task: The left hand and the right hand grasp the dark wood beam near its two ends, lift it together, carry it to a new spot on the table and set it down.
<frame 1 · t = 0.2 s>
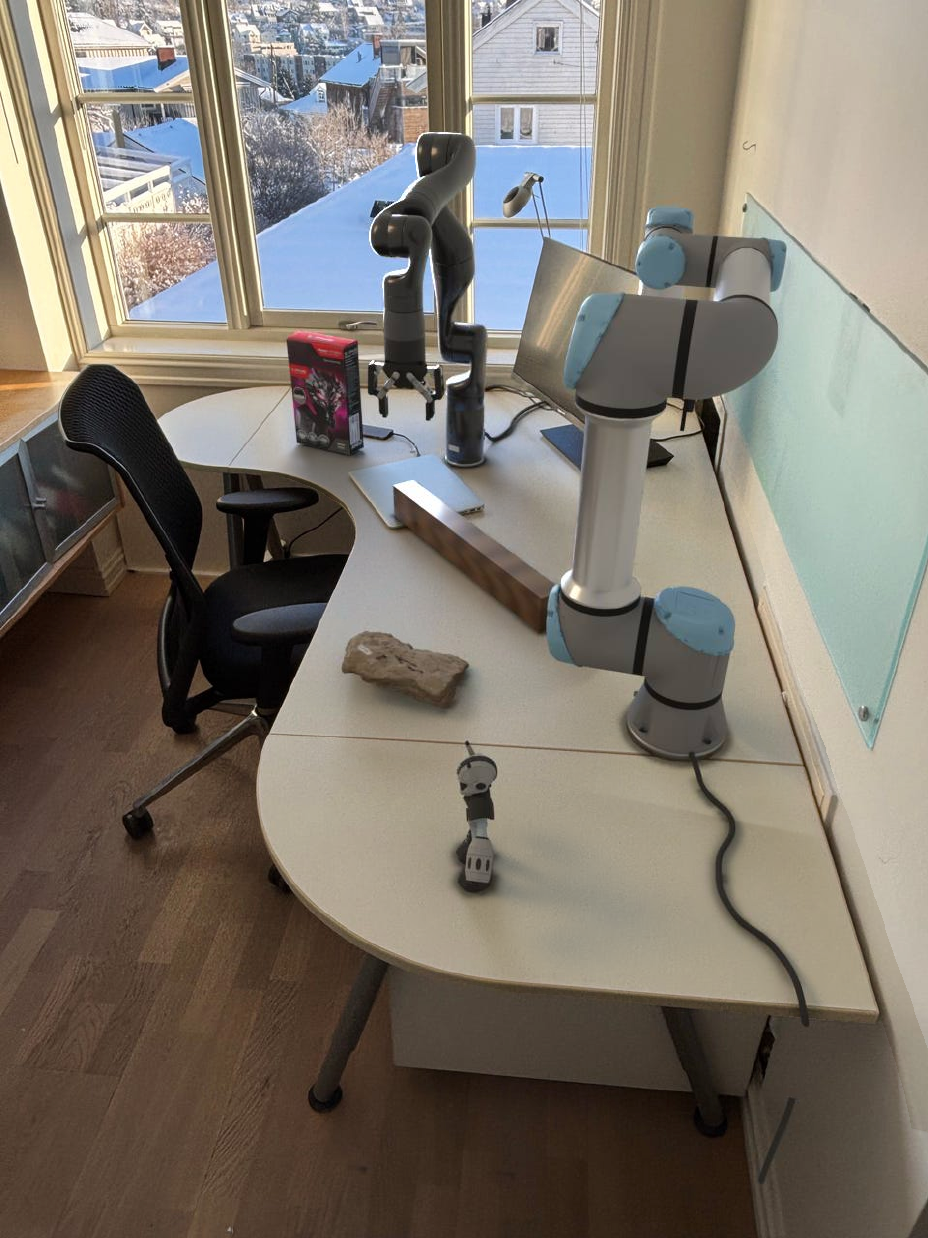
left hand: (406, 417, 176), 28 cm above the table, tool pointing down, fingers open, 8 cm apart
right hand: (644, 424, 169), 30 cm above the table, tool pointing down, fingers open, 13 cm apart
graphics card box: (330, 446, 233), on the table
stone: (400, 681, 153), on the table
beam: (469, 565, 185), on the table
robot: (474, 867, 120), on the table
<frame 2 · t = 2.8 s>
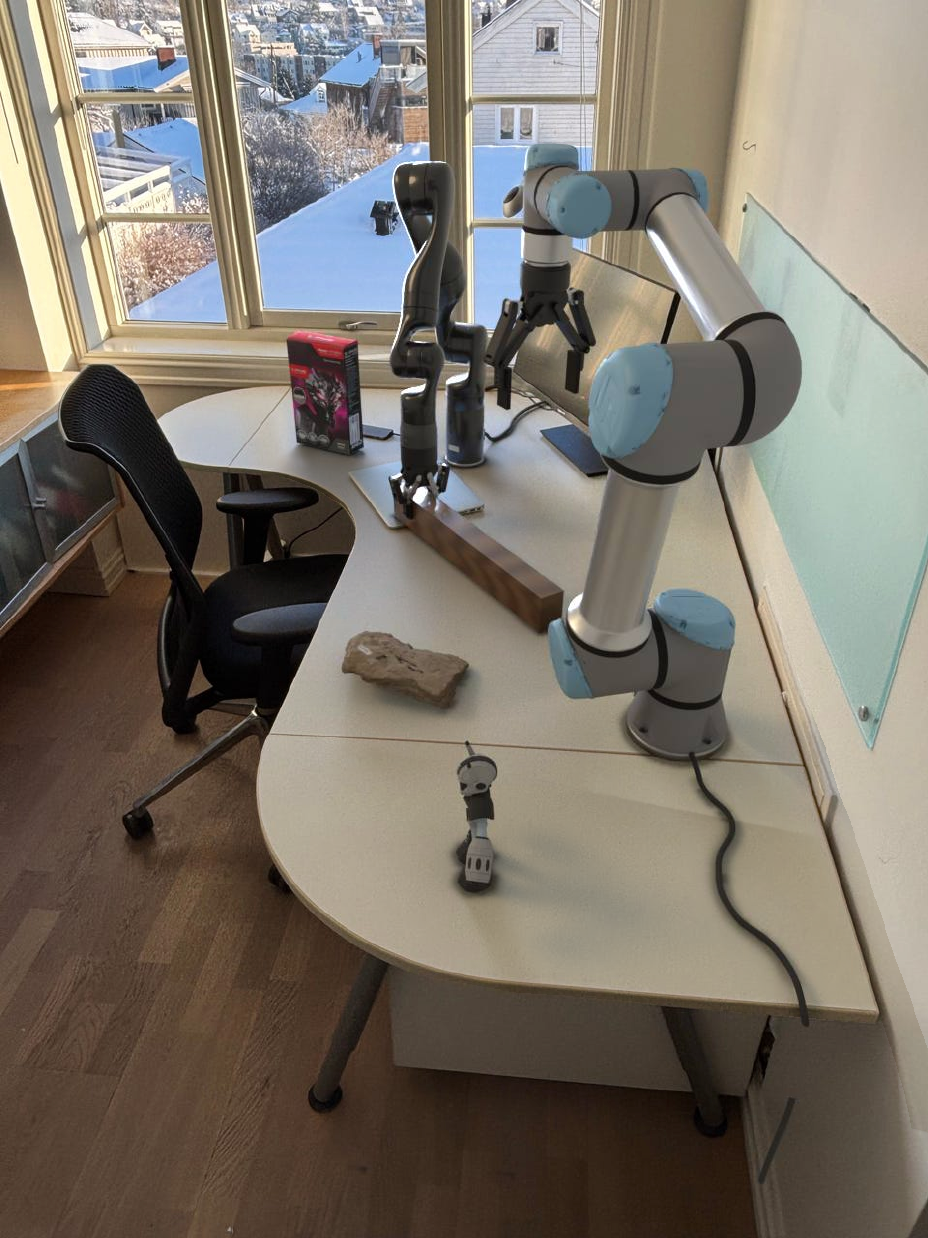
left hand: (420, 514, 196), 3 cm above the table, tool pointing down, fingers closed on beam, 5 cm apart
right hand: (538, 399, 148), 41 cm above the table, tool pointing down, fingers open, 13 cm apart
beam: (469, 565, 185), on the table, touching left hand
everything else where it was.
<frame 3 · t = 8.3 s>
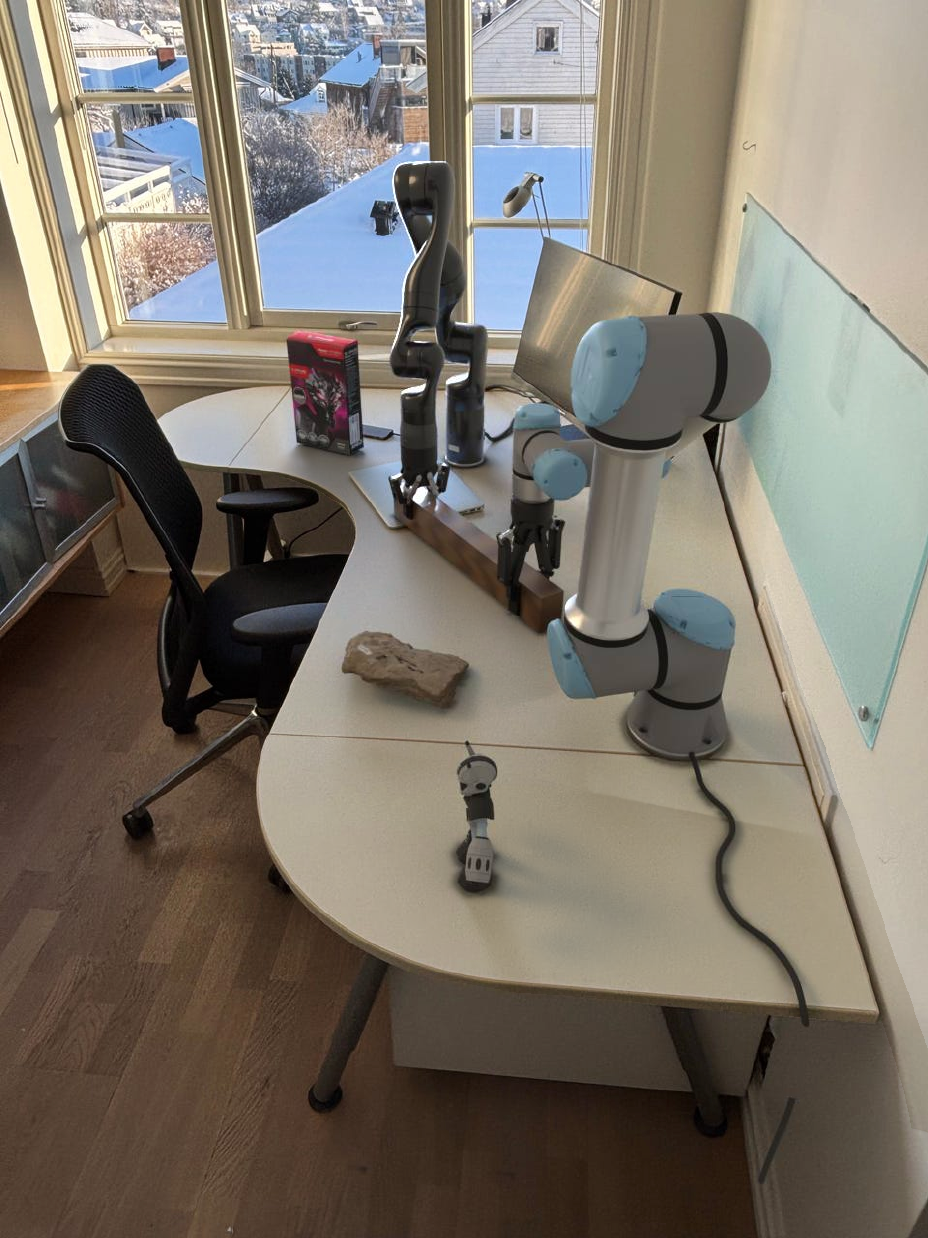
left hand: (420, 514, 196), 3 cm above the table, tool pointing down, fingers closed on beam, 5 cm apart
right hand: (526, 607, 171), 1 cm above the table, tool pointing down, fingers closed on beam, 5 cm apart
beam: (469, 565, 185), on the table, touching right hand, left hand
everything else where it was.
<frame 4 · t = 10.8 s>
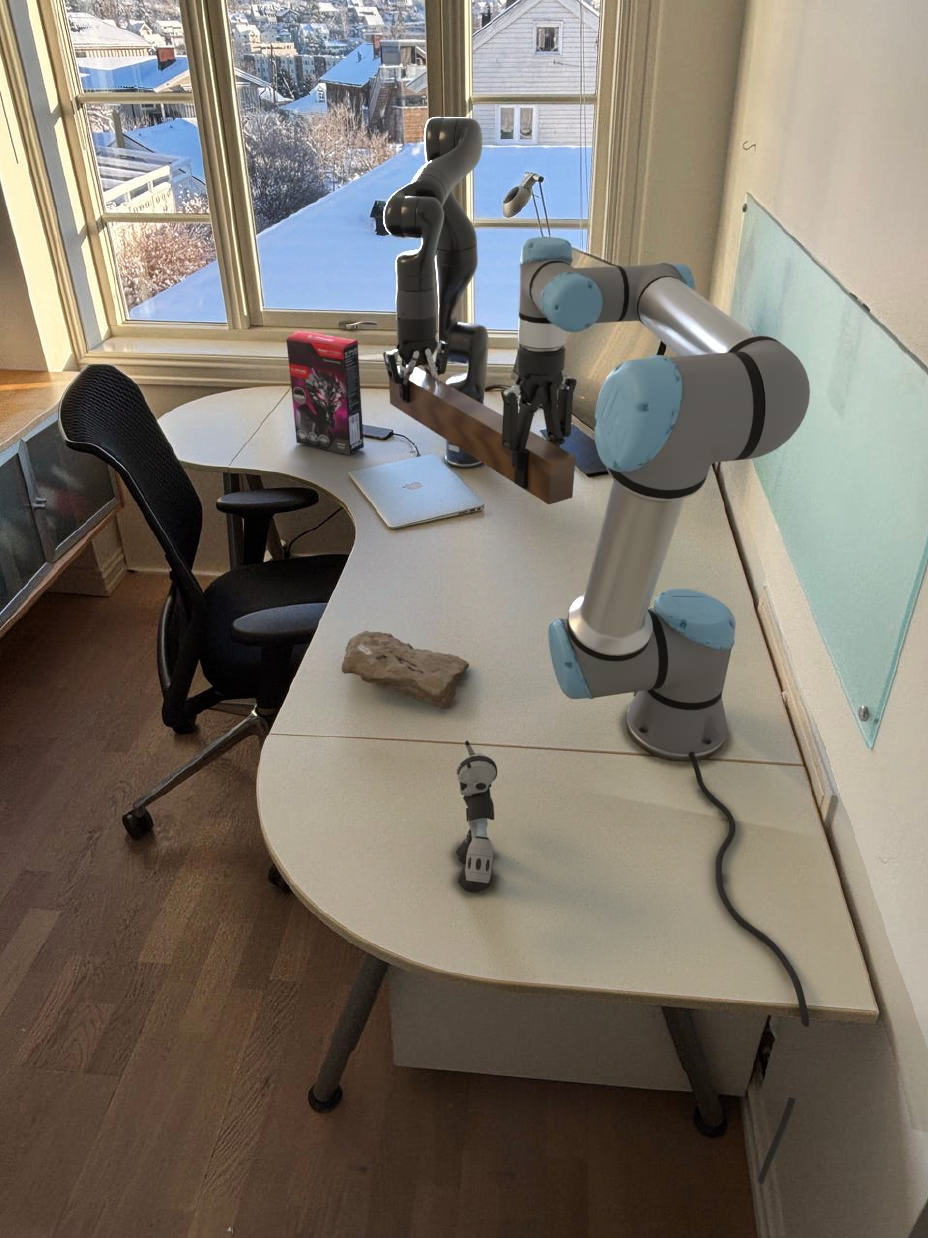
left hand: (418, 398, 182), 29 cm above the table, tool pointing down, fingers closed on beam, 5 cm apart
right hand: (534, 481, 156), 26 cm above the table, tool pointing down, fingers closed on beam, 5 cm apart
beam: (471, 445, 170), point 26 cm above the table, touching right hand, left hand
everything else where it was.
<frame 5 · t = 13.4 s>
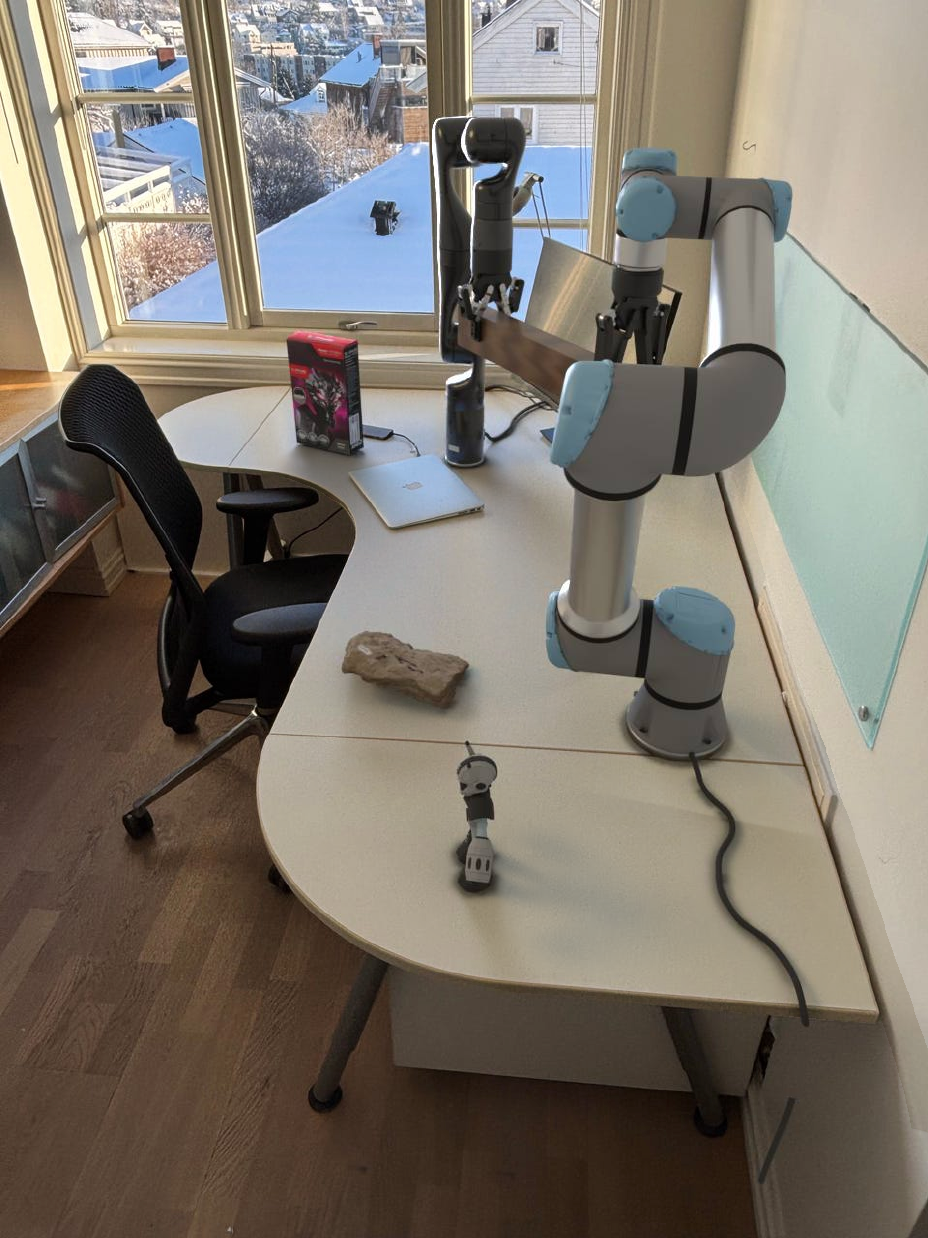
left hand: (489, 337, 174), 41 cm above the table, tool pointing down, fingers closed on beam, 5 cm apart
right hand: (622, 416, 148), 39 cm above the table, tool pointing down, fingers closed on beam, 5 cm apart
beam: (549, 383, 162), point 38 cm above the table, touching right hand, left hand
everything else where it was.
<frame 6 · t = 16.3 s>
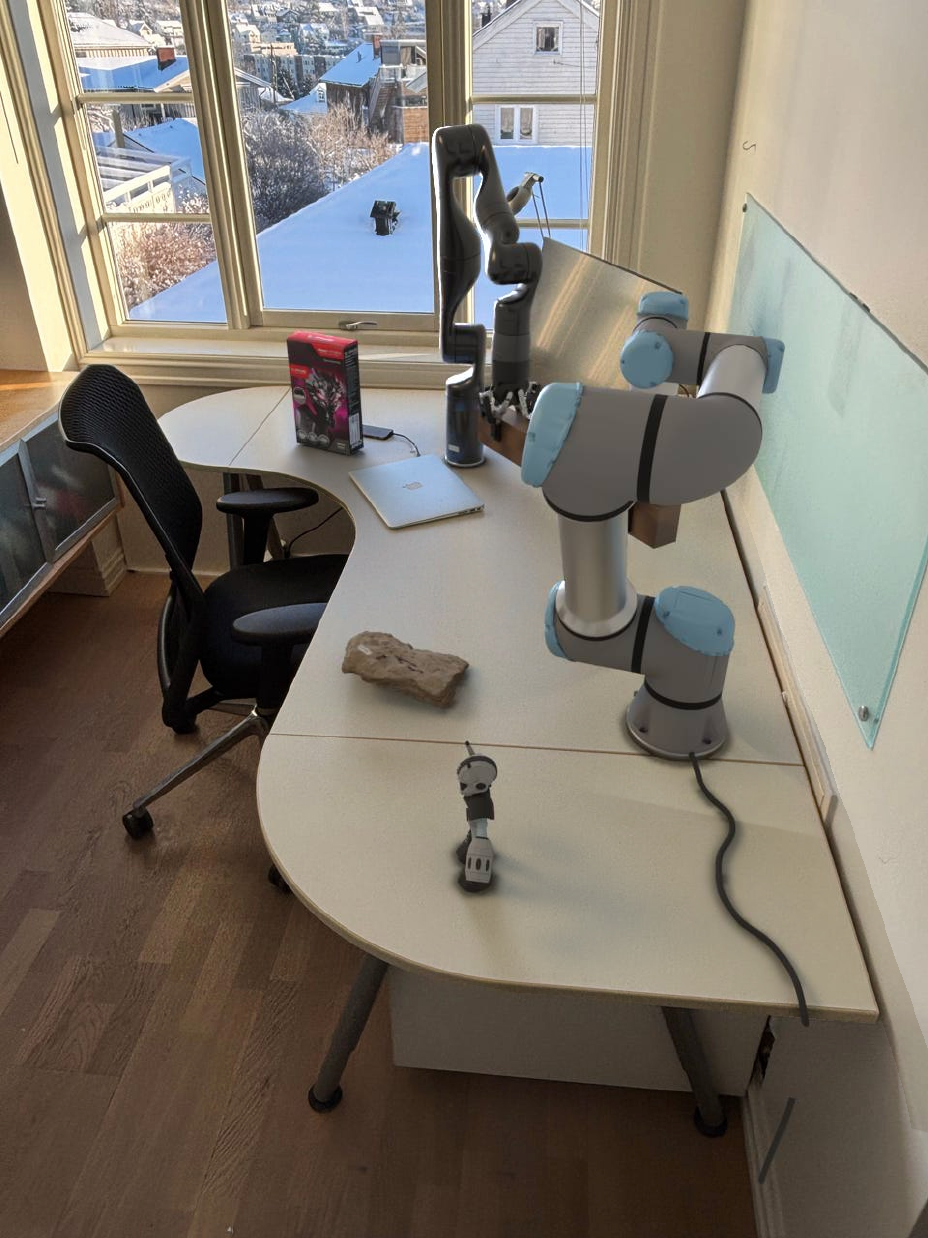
left hand: (507, 437, 185), 21 cm above the table, tool pointing down, fingers closed on beam, 5 cm apart
right hand: (636, 524, 159), 19 cm above the table, tool pointing down, fingers closed on beam, 5 cm apart
beam: (566, 486, 173), point 18 cm above the table, touching right hand, left hand
everything else where it was.
when the right hand's fingers open (2 cm above the table, at t = 18.6 s): beam drops 1 cm, on the table.
when the left hand's fingers open (4 cm above the table, at t = 18.8 s): beam stays where it is, on the table.
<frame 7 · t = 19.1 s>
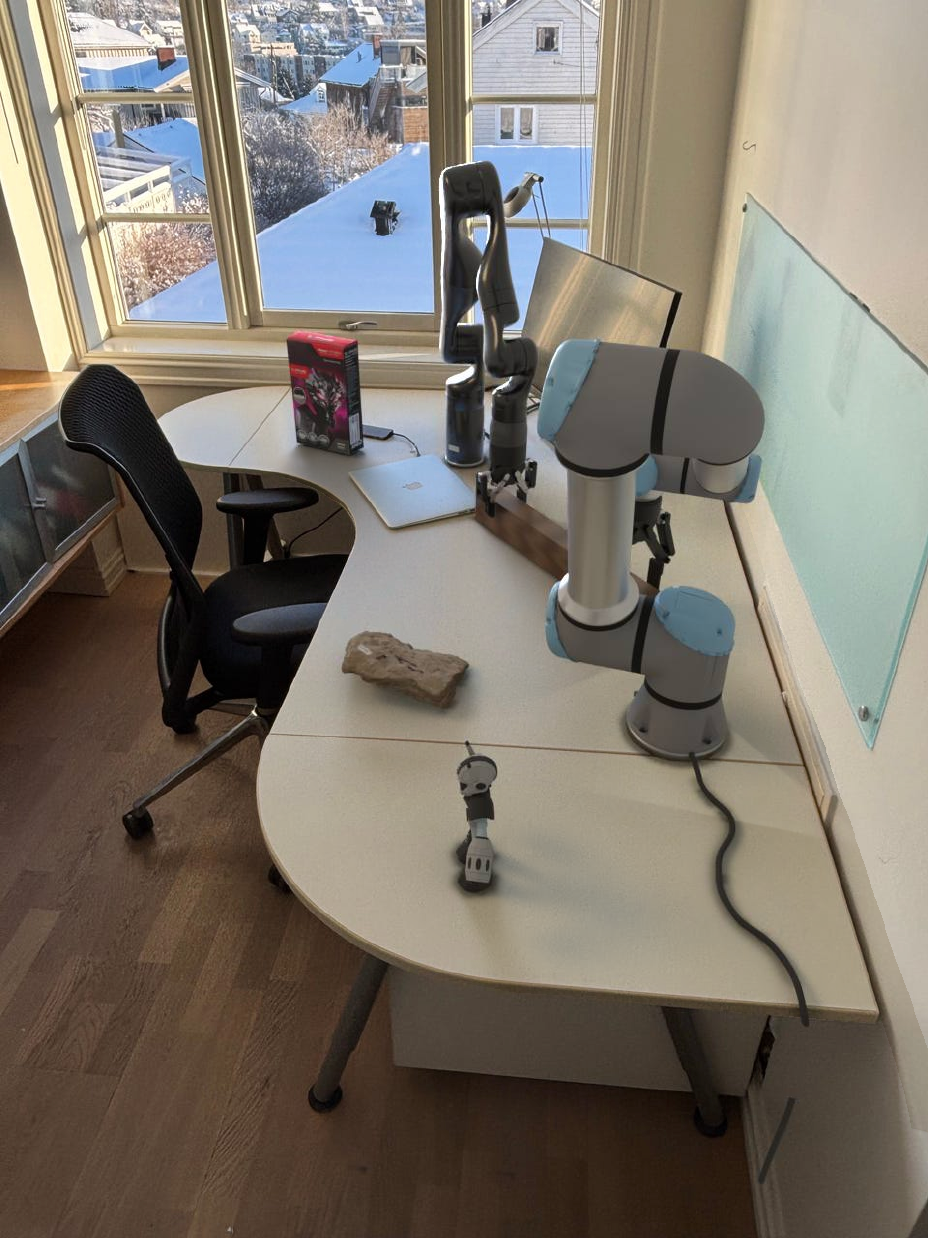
left hand: (505, 511, 194), 5 cm above the table, tool pointing down, fingers open, 7 cm apart
right hand: (626, 600, 168), 3 cm above the table, tool pointing down, fingers open, 11 cm apart
beam: (559, 568, 184), on the table
everything else where it was.
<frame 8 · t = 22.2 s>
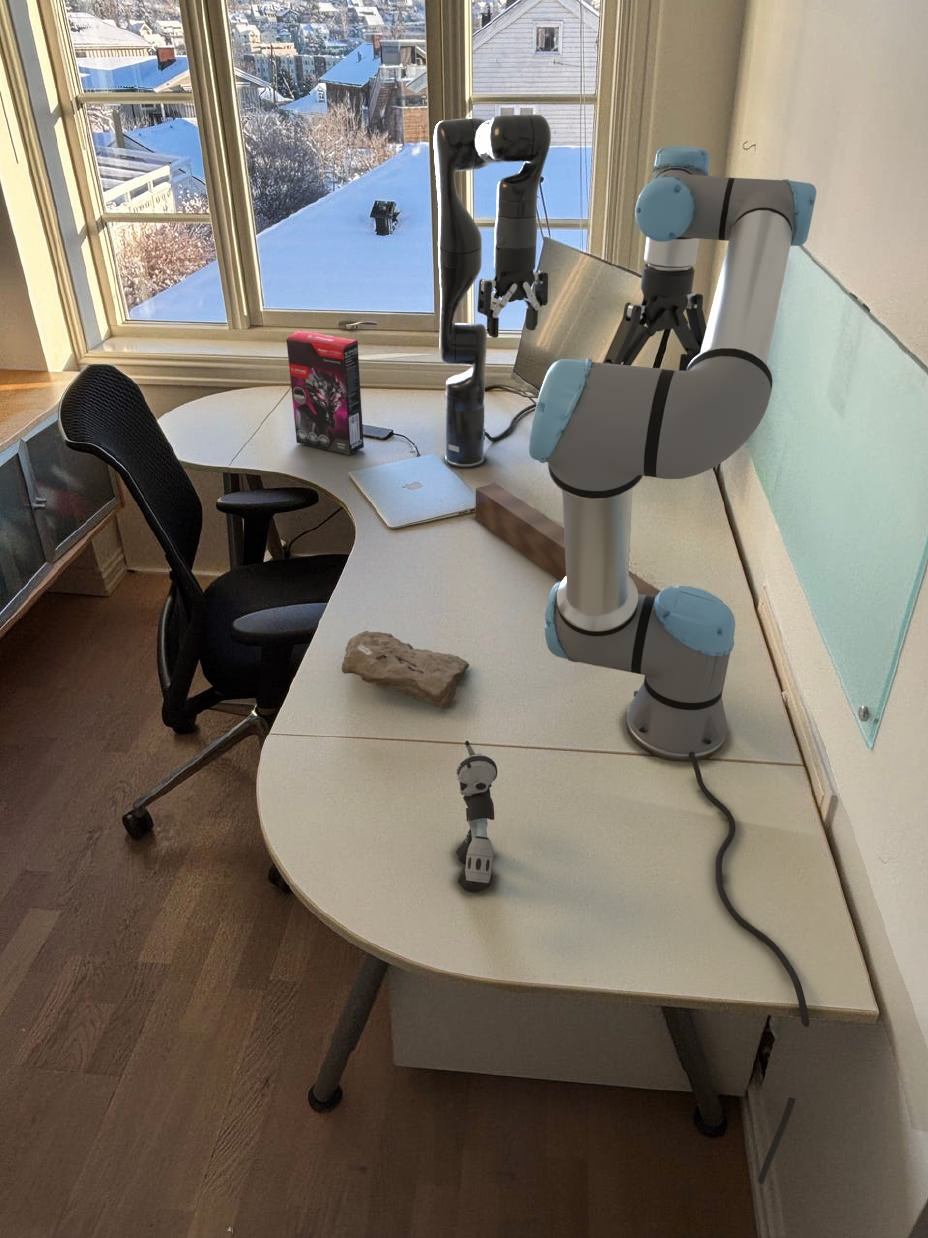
left hand: (512, 332, 173), 42 cm above the table, tool pointing down, fingers open, 8 cm apart
right hand: (651, 403, 147), 41 cm above the table, tool pointing down, fingers open, 13 cm apart
nothing on the table moved.
at the end: beam inside the target area (0.6 cm from its centre), on the table; beam tilted 0°; beam never tilted more than 2° during the clip; both hands held the beam at the same time; the left hand is holding nothing; the right hand is holding nothing; beam at rest at the end (0.0 cm/s) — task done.
